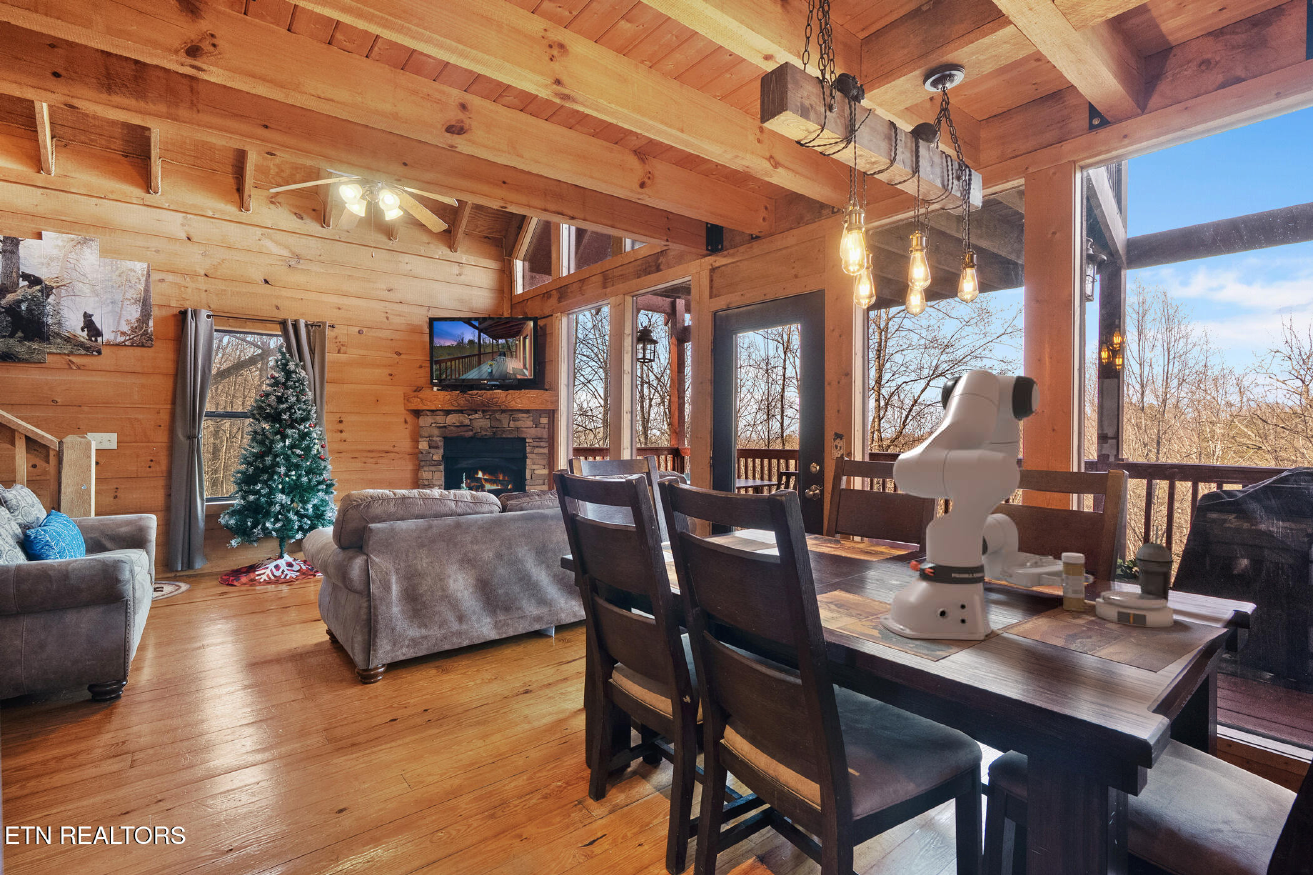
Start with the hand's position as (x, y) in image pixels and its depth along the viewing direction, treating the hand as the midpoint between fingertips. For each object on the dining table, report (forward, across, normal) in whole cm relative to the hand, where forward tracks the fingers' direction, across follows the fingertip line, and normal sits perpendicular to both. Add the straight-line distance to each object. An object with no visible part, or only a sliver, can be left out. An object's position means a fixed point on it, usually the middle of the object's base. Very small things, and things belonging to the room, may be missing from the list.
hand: (1076, 581), depth 146 cm
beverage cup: (+4, +20, +7) cm, 22 cm away
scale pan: (+9, +6, +3) cm, 11 cm away
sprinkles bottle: (-1, 0, +7) cm, 7 cm away
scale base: (+9, +6, +7) cm, 13 cm away
